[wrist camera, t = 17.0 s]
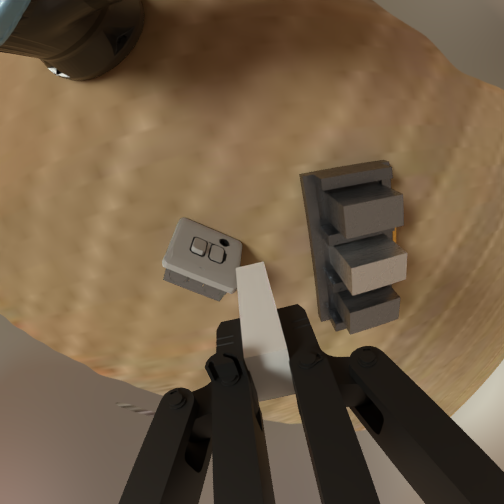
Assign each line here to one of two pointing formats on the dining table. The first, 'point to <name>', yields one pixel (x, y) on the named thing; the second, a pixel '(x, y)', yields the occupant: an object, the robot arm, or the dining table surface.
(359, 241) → the grey block
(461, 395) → the dining table surface
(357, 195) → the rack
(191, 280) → the electrical switch
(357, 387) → the robot arm
